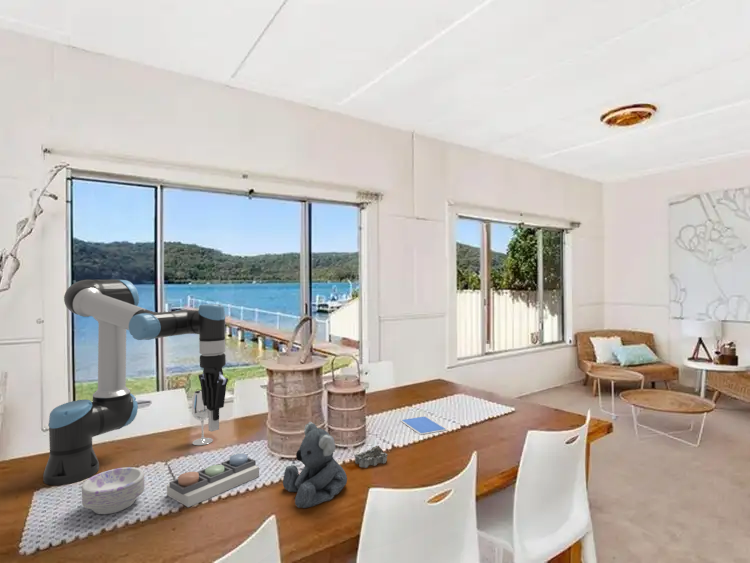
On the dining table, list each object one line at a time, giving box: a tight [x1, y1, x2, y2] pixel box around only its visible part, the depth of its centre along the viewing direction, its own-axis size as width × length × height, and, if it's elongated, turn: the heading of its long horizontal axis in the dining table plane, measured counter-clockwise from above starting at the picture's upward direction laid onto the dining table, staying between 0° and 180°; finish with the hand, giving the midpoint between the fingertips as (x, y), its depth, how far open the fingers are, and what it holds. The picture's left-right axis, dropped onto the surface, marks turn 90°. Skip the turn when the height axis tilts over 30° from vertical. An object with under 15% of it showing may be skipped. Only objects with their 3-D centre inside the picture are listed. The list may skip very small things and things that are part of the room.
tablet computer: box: [400, 416, 447, 436], centre depth 187 cm, size 19×13×1 cm, turn 22°
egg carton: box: [353, 445, 389, 469], centre depth 150 cm, size 11×8×4 cm
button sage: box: [204, 464, 224, 477], centre depth 135 cm, size 6×6×2 cm
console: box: [166, 456, 260, 508], centre depth 135 cm, size 25×12×4 cm, turn 142°
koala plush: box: [282, 421, 348, 509], centre depth 130 cm, size 17×18×20 cm
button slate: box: [228, 453, 249, 466], centre depth 142 cm, size 6×6×2 cm
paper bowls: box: [81, 466, 146, 515], centre depth 124 cm, size 15×15×8 cm
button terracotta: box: [177, 471, 199, 486], centre depth 128 cm, size 6×6×2 cm
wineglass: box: [190, 389, 214, 446], centre depth 173 cm, size 8×8×20 cm
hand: (213, 429), depth 135 cm, fingers closed
